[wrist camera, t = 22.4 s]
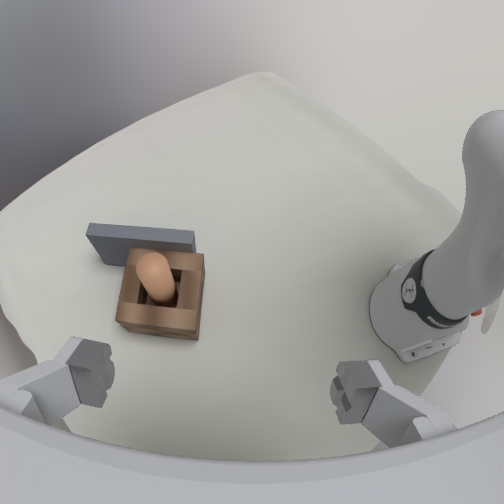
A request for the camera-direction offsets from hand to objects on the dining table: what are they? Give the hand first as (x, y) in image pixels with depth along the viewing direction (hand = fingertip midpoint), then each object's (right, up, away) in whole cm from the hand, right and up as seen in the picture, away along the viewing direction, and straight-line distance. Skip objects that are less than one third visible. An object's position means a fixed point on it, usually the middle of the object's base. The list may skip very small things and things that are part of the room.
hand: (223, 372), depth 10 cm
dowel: (-12, -3, +34) cm, 37 cm away
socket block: (-12, -4, +36) cm, 38 cm away
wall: (-16, +2, +39) cm, 42 cm away
